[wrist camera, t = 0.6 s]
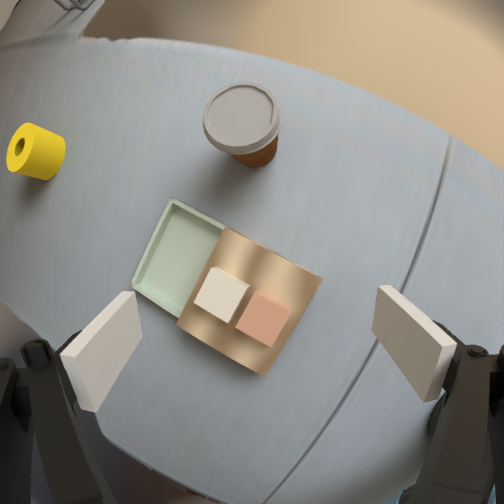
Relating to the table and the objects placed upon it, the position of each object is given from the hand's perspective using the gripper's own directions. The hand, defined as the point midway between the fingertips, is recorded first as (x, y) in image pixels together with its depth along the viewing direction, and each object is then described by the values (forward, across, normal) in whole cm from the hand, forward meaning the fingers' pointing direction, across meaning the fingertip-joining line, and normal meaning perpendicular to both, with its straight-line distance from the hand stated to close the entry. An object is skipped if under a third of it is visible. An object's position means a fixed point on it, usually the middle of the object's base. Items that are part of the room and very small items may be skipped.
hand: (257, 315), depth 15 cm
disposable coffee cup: (+31, -1, -12) cm, 34 cm away
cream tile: (+22, +4, +7) cm, 24 cm away
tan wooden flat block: (+26, 0, +10) cm, 28 cm away
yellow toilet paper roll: (+40, +43, -15) cm, 60 cm away
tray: (+29, +11, +4) cm, 31 cm away
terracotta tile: (+20, -1, +10) cm, 23 cm away
